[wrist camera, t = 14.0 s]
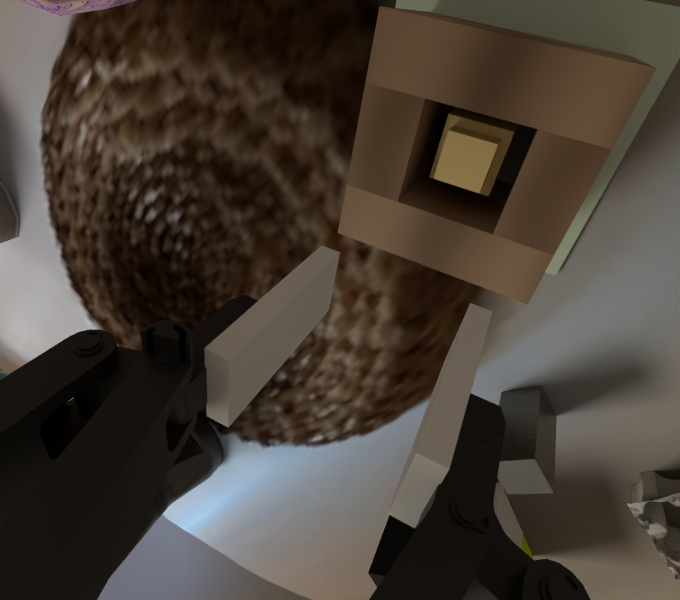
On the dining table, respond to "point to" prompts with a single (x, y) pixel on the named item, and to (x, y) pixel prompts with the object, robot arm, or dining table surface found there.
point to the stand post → (527, 442)
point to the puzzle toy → (401, 532)
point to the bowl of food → (75, 5)
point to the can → (8, 215)
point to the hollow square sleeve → (496, 101)
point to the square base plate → (513, 139)
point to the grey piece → (658, 514)
